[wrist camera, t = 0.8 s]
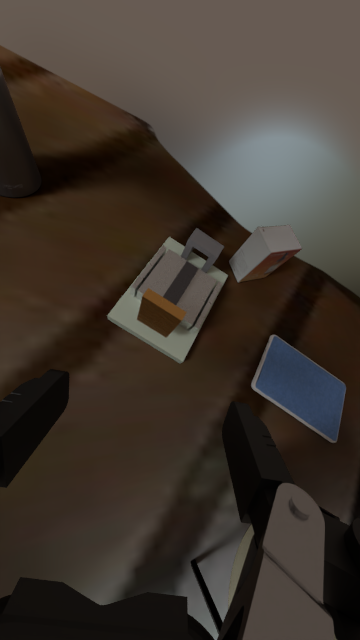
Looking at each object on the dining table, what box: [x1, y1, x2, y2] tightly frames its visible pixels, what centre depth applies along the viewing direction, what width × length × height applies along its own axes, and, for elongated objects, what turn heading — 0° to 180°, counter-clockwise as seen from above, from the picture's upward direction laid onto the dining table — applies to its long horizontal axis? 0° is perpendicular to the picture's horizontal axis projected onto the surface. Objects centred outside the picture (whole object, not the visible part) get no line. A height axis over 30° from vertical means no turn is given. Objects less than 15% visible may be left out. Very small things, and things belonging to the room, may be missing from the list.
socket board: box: [107, 228, 228, 363], centre depth 34 cm, size 20×14×8 cm
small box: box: [229, 225, 302, 283], centre depth 40 cm, size 8×6×10 cm
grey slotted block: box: [130, 245, 222, 334], centre depth 34 cm, size 10×12×3 cm
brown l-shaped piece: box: [137, 261, 198, 338], centre depth 28 cm, size 13×5×8 cm, turn 151°
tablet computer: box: [251, 335, 346, 443], centre depth 39 cm, size 19×13×1 cm, turn 58°
